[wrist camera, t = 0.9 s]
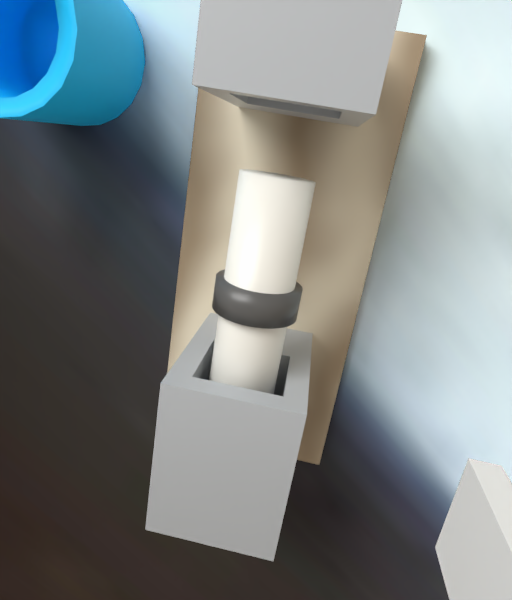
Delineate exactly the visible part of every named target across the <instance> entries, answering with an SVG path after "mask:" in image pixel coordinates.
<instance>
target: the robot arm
mask: <svg viewBox="0 0 512 600" xmlns="http://www.w3.org/2000/svg"><path fill="white" fill-rule="evenodd" d="M435 548H436V552H437V556H438V560H439V563H440V567H441V571H442V574H443V578H444V582H445V585H446V589H447V593H448V596H449V600H512V483H511V481H510V479H509V478H508V476H507V474H506V472H505V470H504V469H503V467H502V466H501V465H496V464H492V463H487V462H483V461H478V460H474V459H469V458H468V461H467V464H466V466H465V469H464V472H463V474H462V477H461V480H460V482H459V485H458V488H457V490H456V493H455V496H454V498H453V501H452V504H451V506H450V509H449V512H448V514H447V517H446V520H445V522H444V525H443V528H442V530H441V533H440V536H439V538H438V541H437V544H436V546H435Z"/></svg>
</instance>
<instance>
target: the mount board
mask: <svg viewBox="0 0 512 600" xmlns="http://www.w3.org/2000/svg"><path fill="white" fill-rule="evenodd" d="M426 36H427V35H421V34H415V33H408V32H401V31H395V34H394V38H393V43H392V47H391V52H390V56H389V60H388V65H387V69H386V73H385V78H384V82H383V86H382V91H381V95H380V99H379V104H378V108H377V112H376V115H375V116H373V117H372V118H370V119H369V120H367V121H366V122H364V123H363V124H361V125H360V126H358V127H356V126H350V125H344V124H338V123H332V122H326V121H320V120H314V119H308V118H302V117H296V116H290V115H284V114H278V113H272V112H266V111H260V110H253V109H247V108H241V107H237V106H235V105H233V104H231V103H229V102H227V101H225V100H223V99H221V98H219V97H217V96H215V95H213V94H210V93H208V92H206V91H204V90H202V89H200V88H198V97H197V106H196V115H195V124H194V133H193V142H192V152H191V161H190V170H189V179H188V188H187V197H186V207H185V216H184V225H183V234H182V243H181V252H180V262H179V271H178V280H177V289H176V298H175V307H174V316H173V326H172V335H171V344H170V353H169V362H168V371H167V373H168V372H169V371H170V369H171V368H172V366H173V365H174V363H175V362H176V361H177V359H178V358H179V356H180V355H181V354H182V352H183V351H184V349H185V348H186V346H187V345H188V344H189V342H190V341H191V339H192V338H193V337H194V335H195V334H196V332H197V331H198V329H199V328H200V327H201V325H202V324H203V322H204V321H205V319H206V318H207V317H208V315H209V314H210V313H215V314H217V313H216V312H215V311H214V310H213V308H212V301H213V294H214V287H215V280H216V274H217V273H218V272H219V271H221V270H224V269H225V266H226V259H227V252H228V245H229V238H230V231H231V224H232V217H233V210H234V203H235V197H236V190H237V183H238V176H239V170H240V169H249V170H258V171H265V172H272V173H278V174H284V175H289V176H294V177H299V178H303V179H307V180H311V181H314V182H316V184H315V189H314V194H313V199H312V204H311V209H310V214H309V219H308V224H307V229H306V234H305V239H304V244H303V249H302V254H301V259H300V265H299V270H298V275H297V280H296V282H298V283H299V284H300V285H301V286H302V288H303V291H302V296H301V300H300V305H299V310H298V315H297V320H296V322H295V323H294V324H292V325H290V326H288V327H287V328H288V329H293V330H298V331H303V332H308V333H313V336H312V350H311V364H310V378H309V393H308V407H307V417H306V421H305V426H304V430H303V435H302V439H301V443H300V448H299V452H298V456H297V460H300V461H305V462H309V463H313V464H318V465H319V464H320V460H321V456H322V452H323V448H324V444H325V440H326V436H327V432H328V428H329V424H330V420H331V416H332V412H333V408H334V404H335V400H336V396H337V392H338V388H339V384H340V380H341V376H342V372H343V368H344V364H345V360H346V356H347V352H348V348H349V344H350V340H351V336H352V332H353V328H354V324H355V320H356V316H357V312H358V308H359V304H360V300H361V296H362V292H363V288H364V284H365V280H366V276H367V272H368V268H369V264H370V260H371V256H372V252H373V248H374V244H375V240H376V236H377V232H378V228H379V224H380V220H381V216H382V212H383V208H384V204H385V200H386V196H387V192H388V188H389V184H390V180H391V176H392V172H393V168H394V164H395V160H396V156H397V152H398V148H399V144H400V140H401V136H402V132H403V128H404V124H405V120H406V116H407V112H408V108H409V104H410V100H411V96H412V92H413V88H414V84H415V80H416V76H417V72H418V68H419V64H420V60H421V56H422V52H423V48H424V44H425V40H426Z"/></svg>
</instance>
